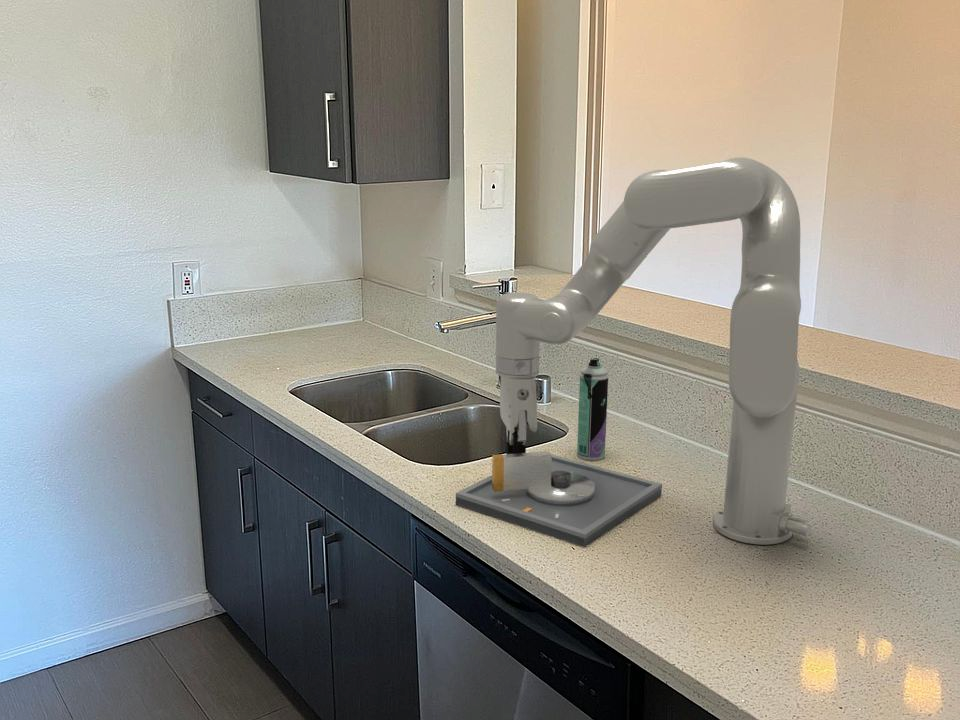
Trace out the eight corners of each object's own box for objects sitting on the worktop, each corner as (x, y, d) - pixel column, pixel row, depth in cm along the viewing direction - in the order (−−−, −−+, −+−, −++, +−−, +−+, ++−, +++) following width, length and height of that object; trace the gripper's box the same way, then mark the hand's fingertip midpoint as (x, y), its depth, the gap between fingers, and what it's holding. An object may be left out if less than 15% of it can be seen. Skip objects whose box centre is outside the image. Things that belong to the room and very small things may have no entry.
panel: (661, 495, 163) (662, 483, 163) (584, 547, 144) (585, 534, 143) (540, 462, 179) (540, 451, 178) (455, 504, 159) (455, 492, 158)
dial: (581, 476, 168) (583, 437, 166) (604, 502, 156) (606, 461, 154) (485, 483, 164) (485, 444, 162) (501, 511, 153) (501, 469, 151)
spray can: (603, 462, 179) (608, 363, 174) (575, 459, 180) (579, 361, 175) (605, 452, 184) (610, 356, 179) (578, 450, 185) (581, 354, 180)
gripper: (549, 375, 152) (546, 478, 157) (528, 353, 166) (526, 448, 171) (504, 377, 151) (503, 481, 156) (488, 354, 165) (487, 450, 170)
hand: (515, 463), depth 163 cm, fingers closed
